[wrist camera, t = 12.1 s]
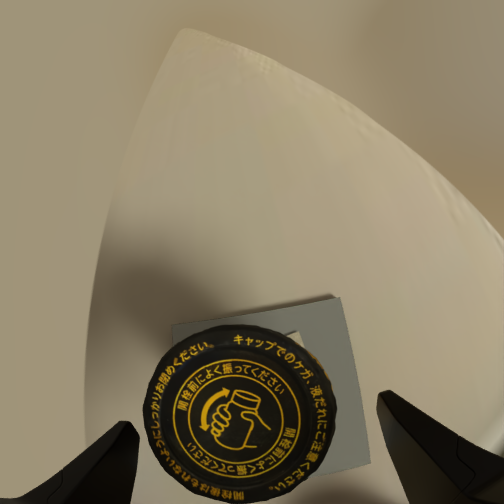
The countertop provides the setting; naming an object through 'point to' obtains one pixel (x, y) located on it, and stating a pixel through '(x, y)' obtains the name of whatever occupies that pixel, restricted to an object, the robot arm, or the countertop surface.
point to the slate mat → (332, 360)
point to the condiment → (240, 413)
